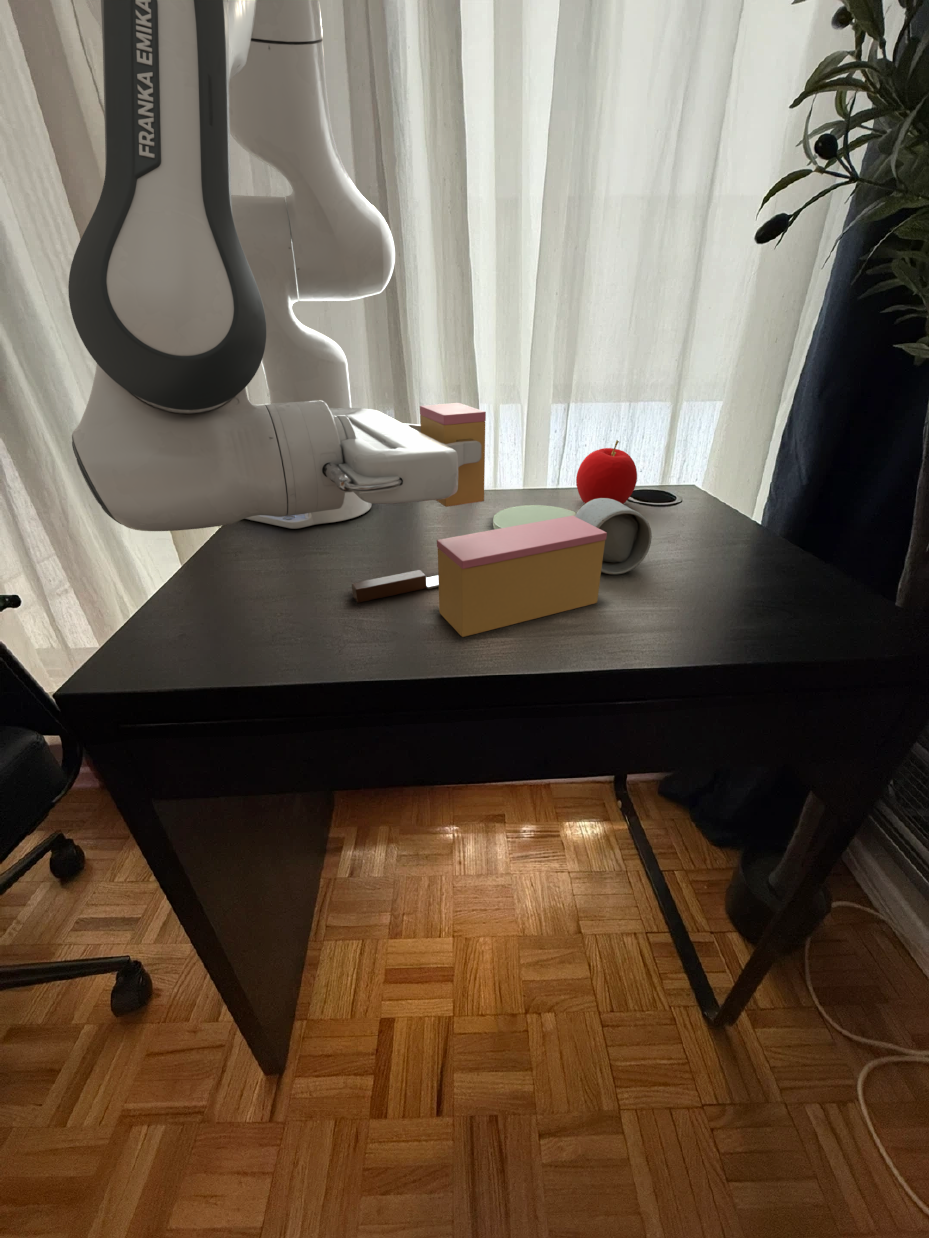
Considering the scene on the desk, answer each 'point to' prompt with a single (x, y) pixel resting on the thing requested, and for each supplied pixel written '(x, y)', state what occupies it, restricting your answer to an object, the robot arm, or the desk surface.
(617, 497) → the fruit
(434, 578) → the brown stick with tip
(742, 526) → the desk surface
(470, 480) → the cake slice
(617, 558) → the ceramic mug
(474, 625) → the loaf cake
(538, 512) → the plate
